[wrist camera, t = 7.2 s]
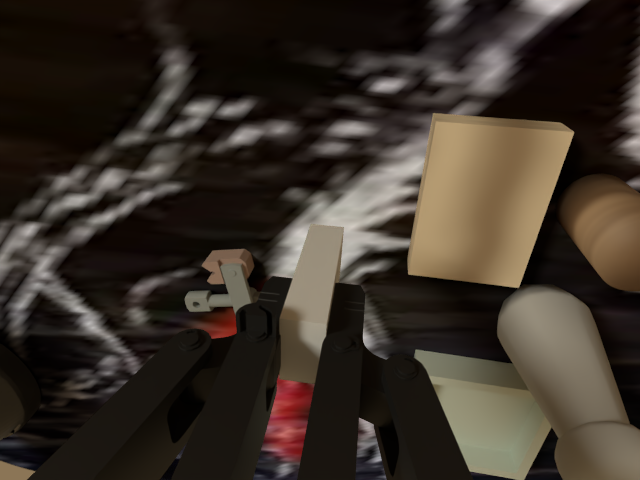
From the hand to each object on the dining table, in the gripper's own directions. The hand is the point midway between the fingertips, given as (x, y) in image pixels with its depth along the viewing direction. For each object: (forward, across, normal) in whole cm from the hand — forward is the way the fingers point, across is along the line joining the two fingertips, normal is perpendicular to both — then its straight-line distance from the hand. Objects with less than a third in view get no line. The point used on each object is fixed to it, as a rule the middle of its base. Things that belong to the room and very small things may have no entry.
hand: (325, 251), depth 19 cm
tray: (+9, +12, -19) cm, 24 cm away
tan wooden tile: (+9, +8, 0) cm, 12 cm away
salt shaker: (+9, +14, -8) cm, 18 cm away
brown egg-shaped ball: (+8, +15, 0) cm, 17 cm away
